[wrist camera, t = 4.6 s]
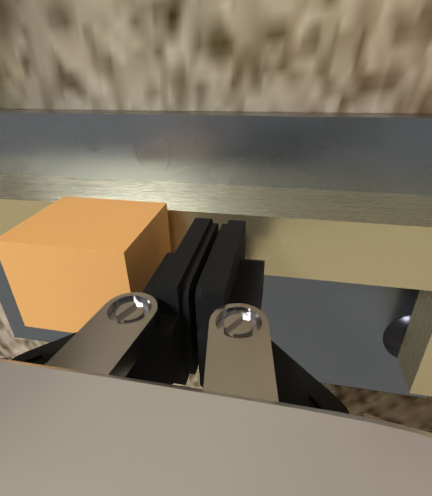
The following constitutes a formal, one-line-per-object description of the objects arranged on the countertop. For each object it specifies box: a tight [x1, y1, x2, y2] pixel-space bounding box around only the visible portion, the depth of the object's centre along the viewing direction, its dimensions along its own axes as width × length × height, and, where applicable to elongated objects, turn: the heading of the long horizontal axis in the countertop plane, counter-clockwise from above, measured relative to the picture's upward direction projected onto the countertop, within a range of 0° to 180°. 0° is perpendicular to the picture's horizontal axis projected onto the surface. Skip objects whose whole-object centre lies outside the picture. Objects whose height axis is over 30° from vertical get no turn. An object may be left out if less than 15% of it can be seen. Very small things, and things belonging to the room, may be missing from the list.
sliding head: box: [0, 197, 171, 333], centre depth 14 cm, size 4×8×6 cm, turn 1°
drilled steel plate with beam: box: [0, 109, 432, 398], centre depth 16 cm, size 26×14×4 cm, turn 91°
